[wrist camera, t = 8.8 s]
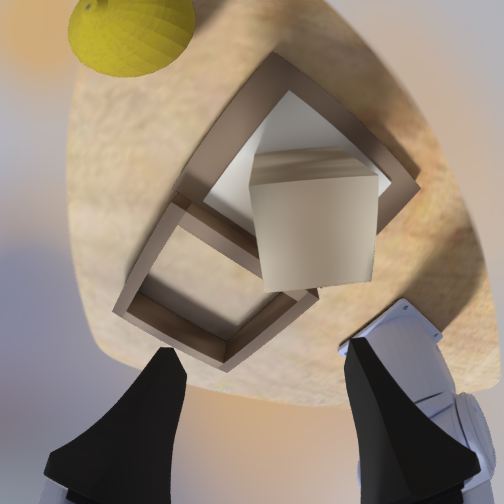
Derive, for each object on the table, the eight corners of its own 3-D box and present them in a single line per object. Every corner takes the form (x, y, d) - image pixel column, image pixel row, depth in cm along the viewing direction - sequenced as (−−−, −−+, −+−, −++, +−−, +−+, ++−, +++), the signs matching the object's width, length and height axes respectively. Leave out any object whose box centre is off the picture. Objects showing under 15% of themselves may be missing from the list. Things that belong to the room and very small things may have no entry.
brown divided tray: (413, 183, 16) (432, 196, 14) (234, 353, 25) (231, 374, 23) (272, 54, 12) (273, 45, 10) (118, 288, 21) (106, 308, 19)
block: (337, 146, 14) (378, 175, 9) (340, 221, 16) (371, 281, 11) (254, 153, 14) (248, 186, 9) (265, 228, 17) (264, 292, 12)
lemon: (167, -12, 10) (104, -64, 3) (229, 32, 12) (197, -21, 5) (107, 51, 12) (18, 42, 5) (162, 97, 14) (83, 104, 7)
